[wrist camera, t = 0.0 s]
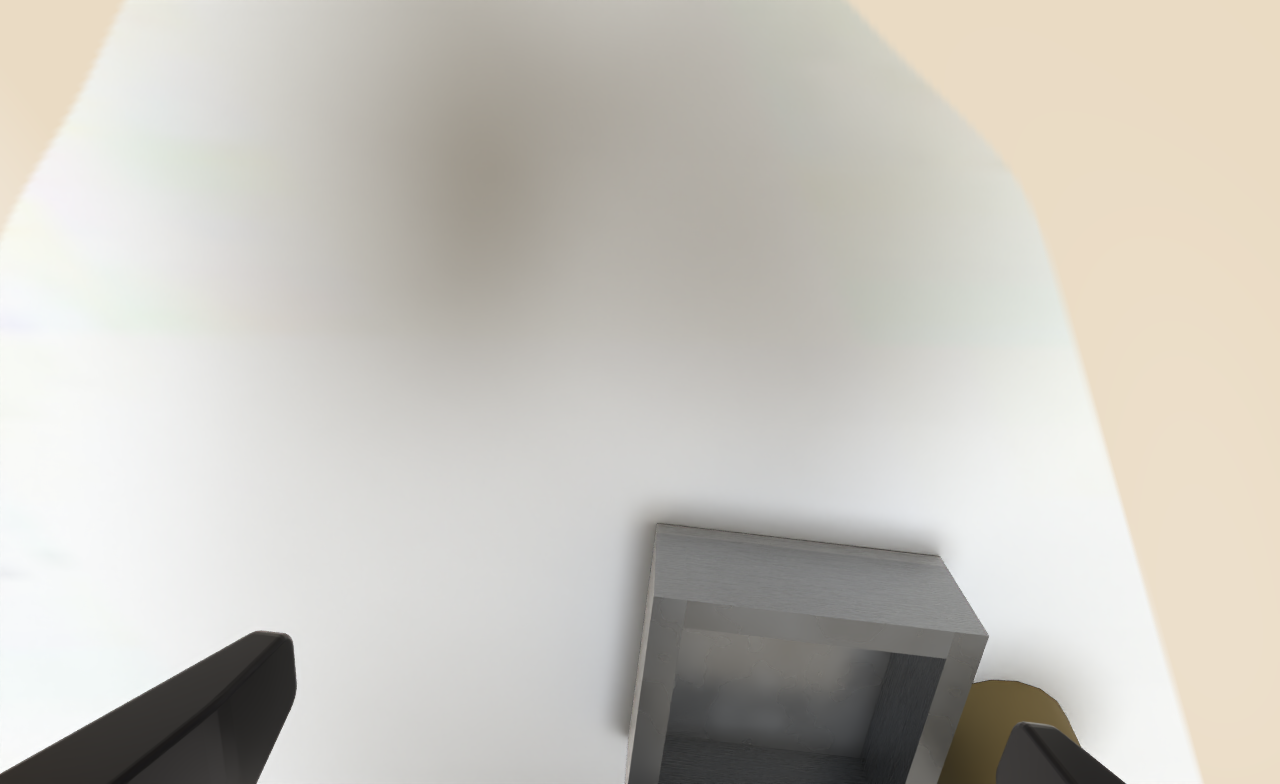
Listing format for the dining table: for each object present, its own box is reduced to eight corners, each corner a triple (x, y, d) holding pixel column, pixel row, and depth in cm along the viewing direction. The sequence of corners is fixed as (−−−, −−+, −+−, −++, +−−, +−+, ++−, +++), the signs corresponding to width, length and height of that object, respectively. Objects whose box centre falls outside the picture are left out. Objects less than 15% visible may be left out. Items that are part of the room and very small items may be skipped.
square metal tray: (875, 767, 28) (907, 867, 24) (628, 737, 28) (621, 833, 24) (940, 556, 25) (989, 636, 21) (657, 523, 25) (653, 596, 21)
